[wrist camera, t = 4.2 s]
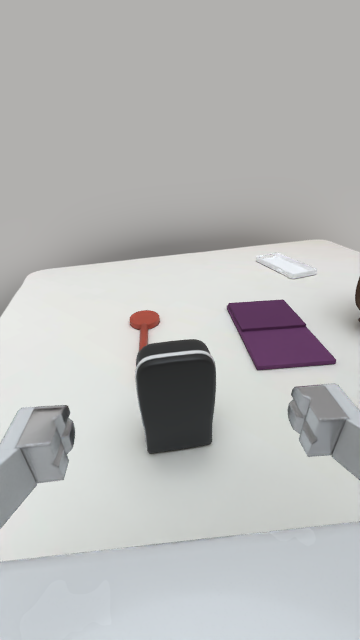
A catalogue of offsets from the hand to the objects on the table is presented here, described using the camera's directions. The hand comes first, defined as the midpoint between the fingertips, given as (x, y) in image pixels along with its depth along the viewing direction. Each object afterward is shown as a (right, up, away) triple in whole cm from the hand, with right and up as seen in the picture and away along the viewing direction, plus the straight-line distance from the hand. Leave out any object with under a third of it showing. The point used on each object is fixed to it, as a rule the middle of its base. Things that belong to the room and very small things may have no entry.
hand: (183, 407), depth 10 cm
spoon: (-6, 0, +35) cm, 35 cm away
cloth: (+15, +1, +36) cm, 39 cm away
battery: (0, -9, +19) cm, 21 cm away
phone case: (+27, +17, +62) cm, 69 cm away
